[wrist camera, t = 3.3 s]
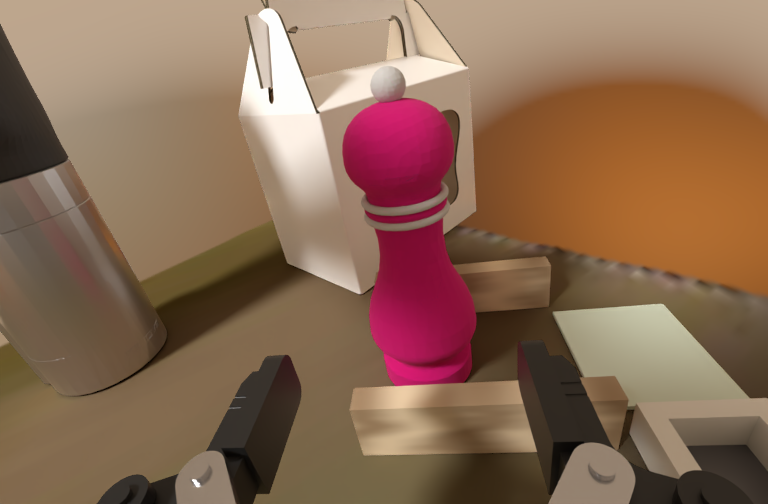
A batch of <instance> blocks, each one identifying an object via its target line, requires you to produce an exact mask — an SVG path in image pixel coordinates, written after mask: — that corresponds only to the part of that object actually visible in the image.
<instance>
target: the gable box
mask: <svg viewBox="0 0 768 504" xmlns="http://www.w3.org/2000/svg"><path fill="white" fill-rule="evenodd" d="M261 1H262V3H263V5H264V7H265V9H264V10H263V11H261V12H260V13H259V15H247V16H245V21H246V25H247V29H248V34H249V39H250V43H251V45H250V51H249V56H248V62H247V69H246V74H245V80H244V86H243V92H242V98H241V104H240V109H239V115H238V116H239V119H240V123H241V126H242V129H243V132H244V134H245V138H246V141H247V144H248V147H249V150H250V152H251V155H252V158H253V161H254V165H255V167H256V170H257V173H258V176H259V179H260V182H261V186H262V188H263V192H264V195H265V197H266V201H267V204H268V206H269V210H270V213H271V216H272V219H273V222H274V225H275V228H276V231H277V234H278V237H279V240H280V243H281V246H282V249H283V252H284V255H285V258H286V261H287V263H288V264H290V265H293V266H295V267H297V268H300V269H302V270H304V271H307V272H309V273H311V274H313V275H316V276H318V277H320V278H323V279H325V280H327V281H330V282H332V283H334V284H337V285H339V286H341V287H344V288H346V289H348V290H350V291H353V292H355V293H357V294H360V295H361V294H363V293H365V292H366V291H367V290H369V289H370V288H371V287H373V286H374V285H375V282H374V281H375V276H376V272H378V271H379V263H380V251H379V244H378V238H377V235H376V232H375V229H374V228H373V227H371V226H369V225H368V224H367V223H366V221H365V220H364V214H365V210H364V208H363V207H362V205H361V200H362V197H363V196H364V195H365V192H364V191H363V190H362V189H360V188H359V187H358V186H356V185H355V184H354V183H353V182H352V181H351V179H350V178H349V176H348V174H347V173H346V170H345V167H344V162H343V155H342V144H343V137H344V134H345V131H346V129H347V126H348V125H349V124H350V122H351V121H352V119H353V118H354V117H355V116H356V115H357V114H358V113H359V112H361V111H362V110H363V109H365V108H367V107H369V106H371V105H373V104H375V103H377V102H379V101H377V100H376V99H375V97H374V96H373V94H372V92H371V86H370V84H371V79H372V76H373V75H374V73H375V72H376V71H377V70H378V69H379V68H381V67H384V66H393V67H396V68H397V69H399V70H400V71H401V72H402V74H403V75H404V78H405V81H406V89H405V93H404V95H403V96H402V98H413V99H418V100H421V101H424V102H427V103H428V104H430V105H432V106H434V107H435V108H437V109H438V110H439V111H440V112H441V113H442V114H443V115H444V117H445V119H446V120H447V122H448V124H449V126H450V128H451V131H452V136H453V141H454V158H453V162H452V164H451V166H450V168H449V170H448V172H447V173H446V174H445V176H444V177H443V179H442V182H444V183H445V184H446V185H447V187H448V190H449V191H448V195H447V200H448V201H449V204H450V209H449V211H448V213H447V214H446V215H445V216H444V217H443V233H444V234H446V233H447V232H448V231H450V230H451V229H452V228H454V227H455V226H457V225H458V224H459V223H461V222H462V221H463V220H465V219H466V218H468V217H469V216H470V215H472V214H473V213H475V212H476V196H475V175H474V156H473V137H472V117H471V97H470V77H469V68H468V67H467V66H466V65H465V63H464V62H463V61H462V59H461V58H460V57H459V55H458V54H457V53H456V51H455V50H454V49H453V47H452V46H451V44H450V43H449V42H448V40H447V39H446V38H445V36H444V35H443V34H442V32H441V31H440V30H439V28H438V27H437V26H436V25H435V23H434V22H433V20H432V19H431V18H430V16H429V15H428V14H427V12H426V11H425V10H424V8H423V7H422V6H421V4H420V3H419V2H417V1H416V0H261ZM380 20H389V21H390V29H389V30H390V31H389V40H388V50H387V60H386V61H382V62H378V63H373V64H368V65H364V66H359V67H355V68H350V69H345V70H341V71H336V72H332V73H327V74H323V75H318V76H314V77H309V78H305V77H304V74H303V71H302V69H301V66H300V64H299V61H298V58H297V56H296V53H295V51H294V48H293V45H292V43H291V40H290V38H289V35H288V32H289V33H296V32H297V31H298V30H306V29H314V28H323V27H331V26H338V25H346V24H355V23H364V22H372V21H380ZM418 54H420V56H417V55H418ZM270 87H273V89H270Z"/></svg>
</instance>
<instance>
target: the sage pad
mask: <svg viewBox="0 0 768 504" xmlns="http://www.w3.org/2000/svg"><path fill="white" fill-rule="evenodd" d="M553 317H554V319H555V321H556V323H557V325H558V327H559V329H560V331H561V333H562V335H563V337H564V339H565V341H566V344H567V346H568V348H569V350H570V352H571V354H572V356H573V358H574V360H575V362H576V364H577V366H578V368H579V371H580V373H581V375H582V377H602V376H615V377H616V379H617V380H618V382H619V384H620V385H621V387H622V389H623V391H624V392H625V394H626V396H627V397H628V399H629V401H628V406H627V410H635V406H636V403H641V402H668V401H696V400H723V399H750V398H749V397H748V396H747V395H746V394H745V393H744V392H743V390H742V389H741V388H740V387H739V386H738V385H737V384H736V383H735V382H734V381H733V380H732V378H731V377H730V376H729V375H728V374H727V373H726V372H725V371H724V370H723V369H722V368H721V367H720V365H719V364H718V363H717V362H716V361H715V360H714V359H713V358H712V357H711V356H710V355H709V353H708V352H707V351H706V350H705V349H704V348H703V347H702V346H701V345H700V344H699V343H698V342H697V340H696V339H695V338H694V337H693V336H692V335H691V334H690V333H689V332H688V331H687V330H686V328H685V327H684V326H683V325H682V324H681V323H680V322H679V321H678V320H677V319H676V318H675V317H674V315H673V314H672V313H671V312H670V311H669V310H668V309H667V308H666V307H665V306H664V305H663V304H652V305H638V306H625V307H611V308H597V309H584V310H570V311H556V312H553Z"/></svg>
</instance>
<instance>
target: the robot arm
mask: <svg viewBox="0 0 768 504" xmlns="http://www.w3.org/2000/svg"><path fill="white" fill-rule="evenodd" d="M0 331H1V333H2V334H3V335H4V336H5V337H6V339H7V340H8V341H9V342H10V343H11V345H12V346H13V347H14V348H15V349H16V351H17V352H18V353H19V354H20V355H21V356H22V358H23V359H24V360H25V361H26V362H27V364H28V365H29V366H30V367H31V368H32V370H33V371H34V372H35V373H36V374H37V375H38V377H39V378H40V379H41V380H42V381H43V383H44V384H51V385H52V386H53V388H54V389H55V390H56V391H57V392H58V393H60V394H61V395H66V396H80V395H84V394H89V393H93V392H96V391H99V390H102V389H104V388H107V387H109V386H111V385H113V384H116V383H118V382H119V381H121V380H123V379H125V378H127V377H128V376H130V375H132V374H133V373H134V372H136V371H137V370H139V369H140V368H142V367H143V366H144V365H145V364H146V363H148V362H149V361H150V360H151V359H152V358H153V357H154V356H155V355H156V354H157V353H158V352H159V350H160V349H161V348H162V346H163V345H164V343H165V340H166V338H167V331H166V328H165V327H164V325H163V323H162V321H161V319H160V318H159V316H158V314H157V312H156V311H155V309H154V307H153V305H152V304H151V302H150V300H149V298H148V296H147V294H146V293H145V291H144V289H143V287H142V286H141V284H140V282H139V280H138V279H137V277H136V275H135V273H134V272H133V270H132V268H131V266H130V265H129V263H128V261H127V259H126V258H125V256H124V254H123V252H122V251H121V249H120V247H119V245H118V243H117V242H116V240H115V238H114V237H113V235H112V233H111V231H110V229H109V228H108V226H107V224H106V222H105V221H104V219H103V217H102V215H101V214H100V212H99V210H98V208H97V207H96V205H95V203H94V201H93V199H92V198H91V196H90V195H89V193H88V191H87V189H86V187H85V186H84V184H83V182H82V180H81V179H80V177H79V175H78V173H77V172H76V170H75V168H74V166H73V165H72V163H71V161H70V160H69V159H68V156H67V154H66V152H65V150H64V149H63V147H62V145H61V143H60V142H59V139H58V138H57V136H56V134H55V131H54V129H53V127H52V125H51V122H50V120H49V118H48V116H47V114H46V112H45V110H44V108H43V106H42V104H41V102H40V100H39V99H38V97H37V95H36V93H35V92H34V90H33V88H32V86H31V84H30V82H29V80H28V79H27V77H26V75H25V73H24V71H23V69H22V67H21V65H20V63H19V61H18V59H17V57H16V55H15V53H14V51H13V49H12V47H11V45H10V43H9V41H8V39H7V37H6V35H5V33H4V31H3V29H2V27H1V24H0ZM518 383H519V389H520V393H521V397H522V400H523V404H524V408H525V411H526V415H527V418H528V422H529V425H530V429H531V432H532V436H533V439H534V443H535V447H536V450H537V454H538V457H539V461H540V464H541V468H542V471H543V475H544V478H545V482H546V486H547V489H548V493H549V495H552V497H551V499H550V501H549V503H548V504H754V503H753V502H752V501H751V499H750V498H749V497H748V496H747V495H746V494H745V493H744V492H743V491H742V490H741V489H740V488H739V487H738V486H736V485H735V484H733V483H732V482H731V481H729V480H727V479H725V478H724V477H721V476H719V475H717V474H714V473H711V472H708V471H702V470H692V471H688V472H686V473H684V474H682V475H681V476H680V478H679V479H676V478H673V477H669V476H665V475H662V474H658V473H654V472H651V471H648V470H645V469H642V468H640V467H637V466H636V465H634V464H632V463H630V462H629V461H627V460H626V459H625V457H623V456H622V455H621V454H620V453H619V452H617V451H616V450H615V448H614V447H613V446H612V444H611V442H610V441H609V439H608V436H607V434H606V432H605V430H604V428H603V426H602V424H601V422H600V420H599V417H598V415H597V413H596V411H595V409H594V407H593V405H592V403H591V400H590V398H589V396H587V392H586V390H585V388H584V386H583V384H582V381H581V379H580V377H579V375H578V373H577V371H576V369H575V367H574V366H573V365H572V364H571V363H570V362H569V361H568V360H567V359H566V358H564V357H563V356H562V355H560V356H549V354H548V351H547V349H546V346H545V344H544V342H543V341H542V340H532V341H519V342H518ZM300 400H301V385H300V382H299V379H298V376H297V374H296V371H295V369H294V366H293V363H292V361H291V358H290V357H289V356H288V355H278V356H267V357H266V358H265V359H264V361H263V363H262V365H261V367H260V369H259V371H257V372H252V373H251V374H250V375H249V376H248V377H247V378H246V380H245V381H244V382H243V383H242V384H241V386H240V388H239V390H238V392H237V393H236V395H235V399H233V401H232V403H231V405H230V409H229V410H228V411H227V413H226V414H225V416H224V418H223V420H222V422H221V424H220V426H219V428H218V430H217V432H216V434H215V435H214V437H213V439H212V441H211V443H210V445H209V447H208V449H207V450H206V452H203V453H201V454H199V455H197V456H195V457H194V458H192V459H191V460H190V461H189V462H188V463H187V464H186V465H185V466H184V467H183V468H182V470H181V471H180V473H179V474H177V475H174V476H171V477H168V478H165V479H162V480H159V481H156V482H153V483H149V481H148V480H147V479H146V478H145V477H144V476H143V475H132V476H128V477H126V478H124V479H122V480H120V481H119V482H117V483H116V484H114V485H113V486H112V487H111V488H110V489H109V490H108V491H107V492H106V493H105V494H104V495H103V496H102V497H101V499H100V500H99V502H98V503H97V504H253V502H254V499H255V497H256V494H269V493H270V490H271V487H272V484H273V481H274V478H275V475H276V472H277V469H278V466H279V463H280V460H281V457H282V454H283V451H284V448H285V445H286V442H287V439H288V436H289V433H290V430H291V427H292V425H293V422H294V419H295V416H296V413H297V410H298V407H299V404H300Z"/></svg>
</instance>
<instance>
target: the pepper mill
mask: <svg viewBox="0 0 768 504" xmlns="http://www.w3.org/2000/svg"><path fill="white" fill-rule="evenodd" d="M370 86H371V92H372V94H373V96H374V97H375V99H376V100H377V101H379V102H377V103H375V104H373V105H371V106H369V107H367V108H365V109H363V110H362V111H361V112H359V113H358V114H357V115H356V116H355V117H354V118H353V119H352V121H351V122H350V124H349V125H348V126H347V129H346V131H345V134H344V137H343V144H342V155H343V162H344V167H345V170H346V173H347V174H348V176H349V178H350V179H351V181H352V182H353V183H354V184H355V185H356V186H358V187H359V188H360V189H362V190H363V191H364V192H365V195H364V196H363V197H362V200H361V205H362V207H363V208H364V210H365V214H364V220H365V221H366V223H367V224H368V225H369V226H371V227H373V228H374V229H375V232H376V235H377V238H378V244H379V251H380V263H379V271H378V276H377V280H376V283H375V286H374V290H373V293H372V297H371V302H370V312H369V318H370V328H371V333H372V336H373V339H374V341H375V342H376V344H377V345H378V347H379V348H380V349H381V350H382V351H383V352H384V359H385V363H386V368H387V372H388V376H389V377H390V379H391V381H392V382H393V383H394V384H395V386H411V385H432V384H453V383H464V382H465V381H466V379H467V378H468V376H469V374H470V372H471V369H472V354H471V344H470V341H471V339H472V337H473V335H474V332H475V329H476V321H477V319H476V312H475V307H474V302H473V299H472V296H471V294H470V292H469V289H468V287H467V286H466V284H465V282H464V281H463V279H462V278H461V276H460V275H459V273H458V272H457V271H456V269H455V268H454V266H453V265H452V263H451V261H450V258H449V256H448V253H447V251H446V245H445V239H444V233H443V217H444V216H445V215H446V214H447V213H448V211H449V209H450V204H449V201H448V200H447V195H448V191H449V190H448V187H447V185H446V184H445V183H444V182H442V179H443V177H444V176H445V174H446V173H447V172H448V170H449V168H450V166H451V164H452V162H453V158H454V141H453V136H452V131H451V128H450V126H449V124H448V122H447V120H446V119H445V117H444V115H443V114H442V113H441V112H440V111H439V110H438V109H437V108H435V107H434V106H432V105H430V104H428V103H427V102H424V101H421V100H418V99H413V98H402V96H403V95H404V93H405V89H406V81H405V78H404V75H403V74H402V72H401V71H400V70H399V69H397V68H396V67H393V66H384V67H381V68H379V69H378V70H377V71H376V72H375V73H374V75H373V76H372V79H371V84H370Z"/></svg>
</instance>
